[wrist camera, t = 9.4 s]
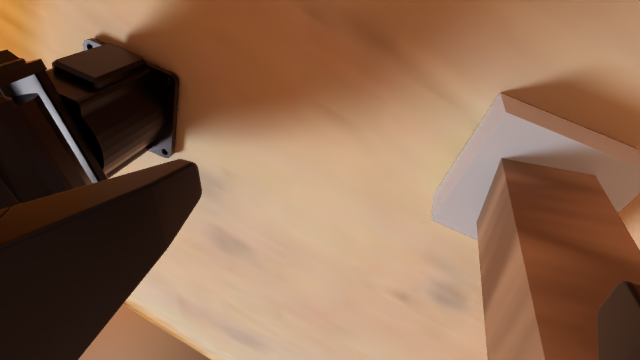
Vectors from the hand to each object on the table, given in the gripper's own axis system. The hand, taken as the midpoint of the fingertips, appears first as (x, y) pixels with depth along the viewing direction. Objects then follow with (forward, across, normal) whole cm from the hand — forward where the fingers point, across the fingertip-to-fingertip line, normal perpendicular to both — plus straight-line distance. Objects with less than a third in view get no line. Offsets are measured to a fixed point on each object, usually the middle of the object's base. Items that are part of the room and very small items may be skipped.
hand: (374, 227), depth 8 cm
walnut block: (+11, -6, +6) cm, 14 cm away
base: (+14, -6, +6) cm, 16 cm away
